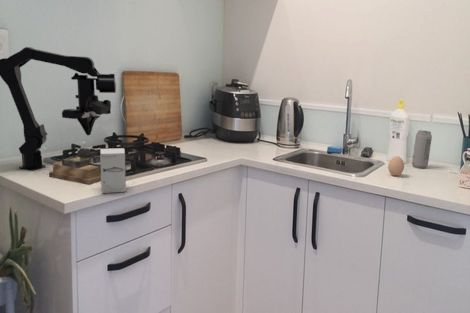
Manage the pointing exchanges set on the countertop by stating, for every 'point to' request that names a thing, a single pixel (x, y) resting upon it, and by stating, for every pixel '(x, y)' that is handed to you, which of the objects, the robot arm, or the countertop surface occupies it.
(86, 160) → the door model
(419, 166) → the energy drink can
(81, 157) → the yellow and black block
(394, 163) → the egg
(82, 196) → the countertop surface
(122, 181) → the supplement box
